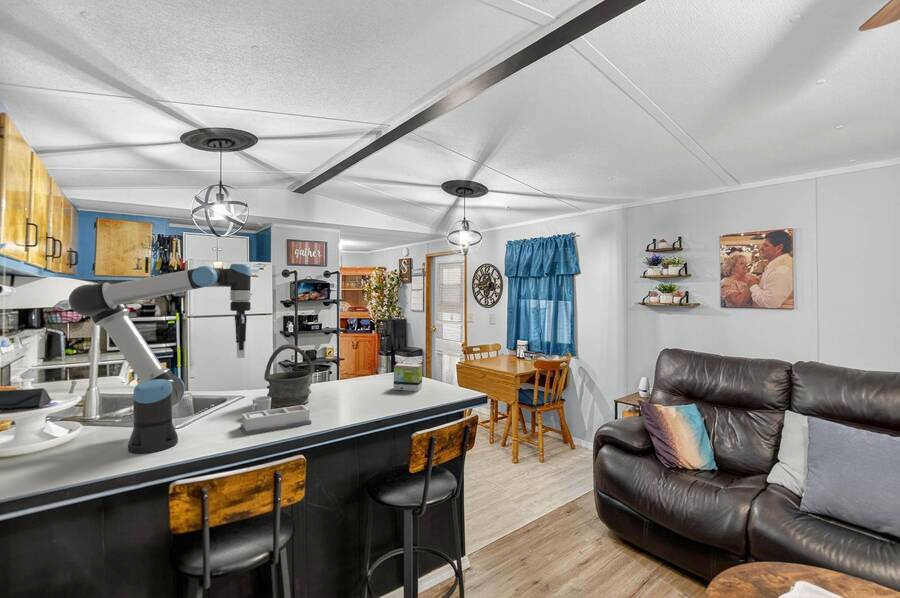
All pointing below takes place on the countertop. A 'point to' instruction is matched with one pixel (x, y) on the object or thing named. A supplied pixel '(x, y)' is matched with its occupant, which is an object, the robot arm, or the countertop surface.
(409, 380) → the tea box
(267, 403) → the cup
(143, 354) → the robot arm
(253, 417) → the key cream
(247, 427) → the grey compartment tray
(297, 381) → the dark handled basket
